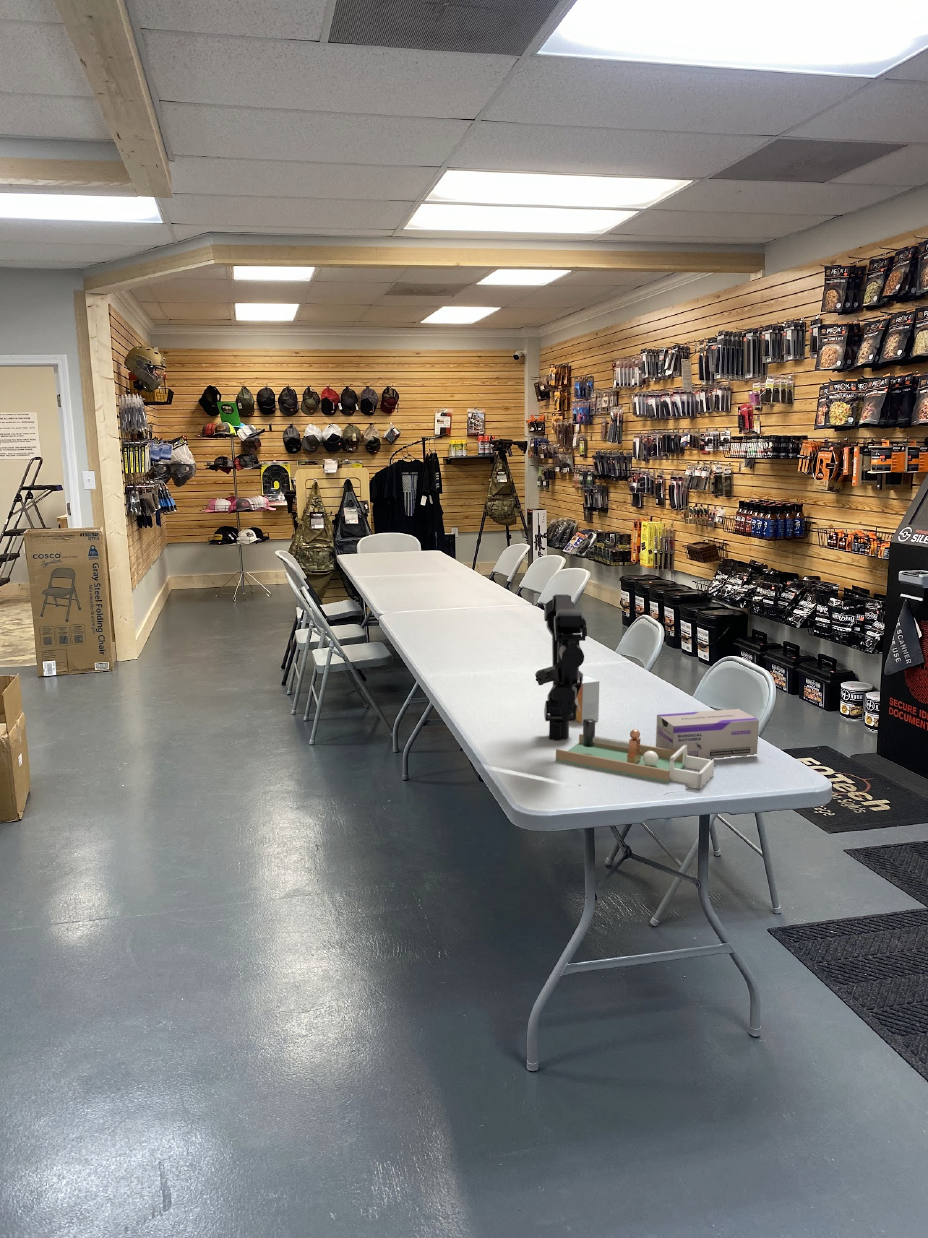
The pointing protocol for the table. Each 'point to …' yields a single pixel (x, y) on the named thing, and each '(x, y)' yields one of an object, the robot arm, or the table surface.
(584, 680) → the small box
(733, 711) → the surgical sutures box
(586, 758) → the pitch
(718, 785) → the table surface
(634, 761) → the rod
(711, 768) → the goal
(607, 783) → the table surface
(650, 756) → the ball
